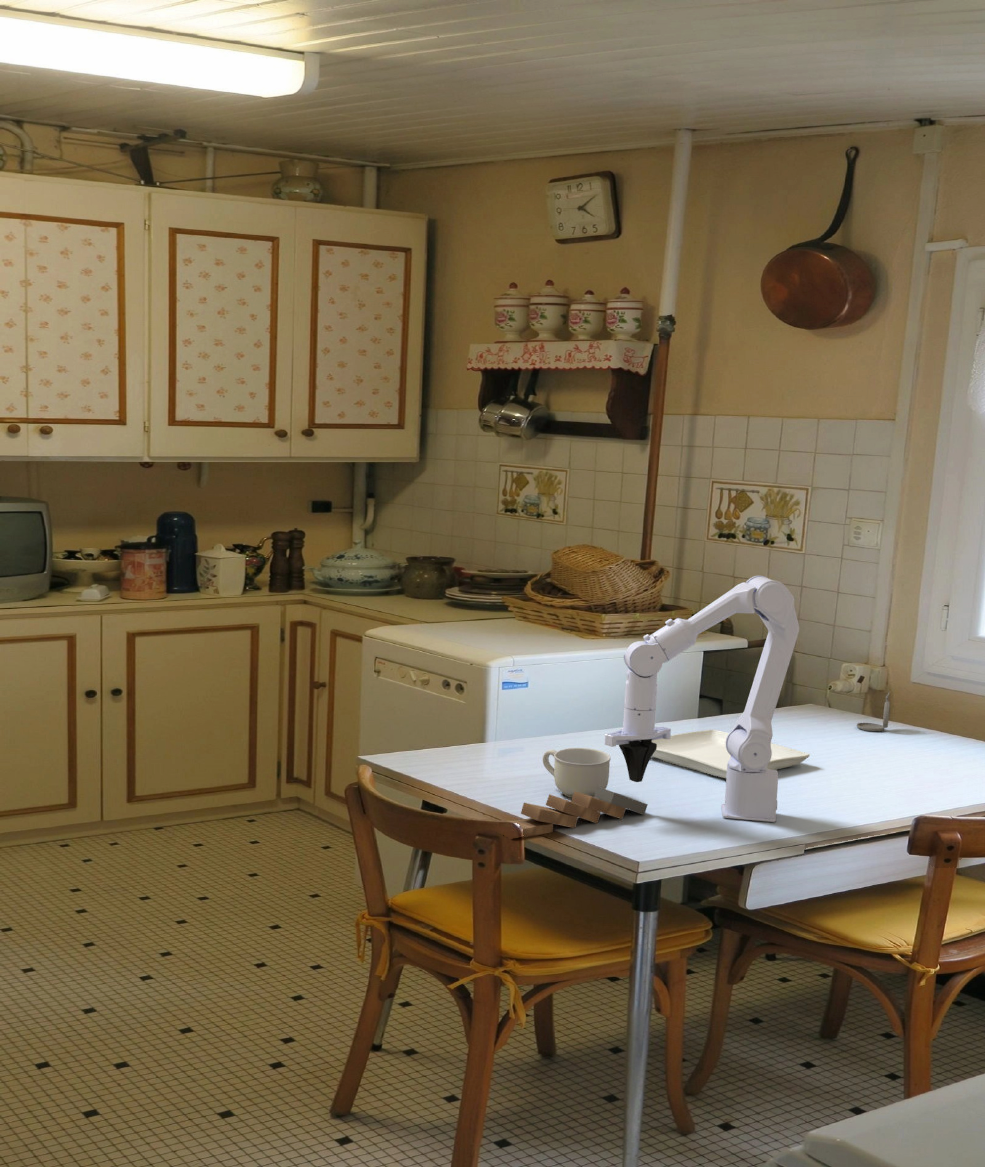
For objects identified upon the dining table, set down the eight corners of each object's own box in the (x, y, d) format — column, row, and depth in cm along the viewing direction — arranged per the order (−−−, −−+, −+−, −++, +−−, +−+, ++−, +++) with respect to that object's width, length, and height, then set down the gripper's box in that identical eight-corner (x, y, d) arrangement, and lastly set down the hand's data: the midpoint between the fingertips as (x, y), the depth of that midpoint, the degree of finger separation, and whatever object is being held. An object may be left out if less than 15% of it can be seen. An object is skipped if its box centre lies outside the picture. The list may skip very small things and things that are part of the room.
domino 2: (561, 810, 225) (523, 802, 220) (578, 817, 222) (540, 809, 216) (558, 821, 225) (520, 813, 220) (575, 828, 222) (537, 820, 216)
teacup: (619, 797, 243) (622, 756, 242) (582, 806, 235) (584, 764, 235) (566, 781, 253) (568, 741, 252) (528, 789, 245) (530, 749, 244)
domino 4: (608, 802, 232) (574, 790, 227) (625, 808, 228) (591, 797, 223) (605, 812, 232) (571, 801, 227) (622, 819, 228) (587, 808, 223)
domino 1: (536, 817, 222) (495, 824, 217) (553, 823, 218) (511, 831, 213) (536, 828, 222) (494, 835, 217) (552, 835, 219) (510, 842, 213)
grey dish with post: (851, 726, 318) (854, 687, 317) (881, 726, 320) (884, 687, 319) (868, 734, 310) (871, 693, 309) (899, 733, 312) (902, 693, 311)
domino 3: (583, 806, 229) (549, 794, 223) (601, 812, 225) (566, 800, 220) (580, 816, 228) (545, 805, 223) (597, 823, 225) (562, 811, 219)
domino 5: (630, 798, 235) (597, 786, 230) (647, 804, 232) (614, 792, 226) (627, 808, 235) (593, 797, 230) (644, 815, 231) (610, 803, 226)
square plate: (632, 758, 276) (633, 741, 275) (712, 743, 293) (713, 727, 293) (731, 787, 255) (732, 768, 255) (811, 769, 273) (812, 752, 273)
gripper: (653, 700, 238) (649, 771, 240) (595, 707, 230) (591, 780, 231) (680, 707, 233) (675, 779, 234) (621, 714, 224) (617, 789, 226)
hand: (635, 780), depth 232 cm, fingers closed
